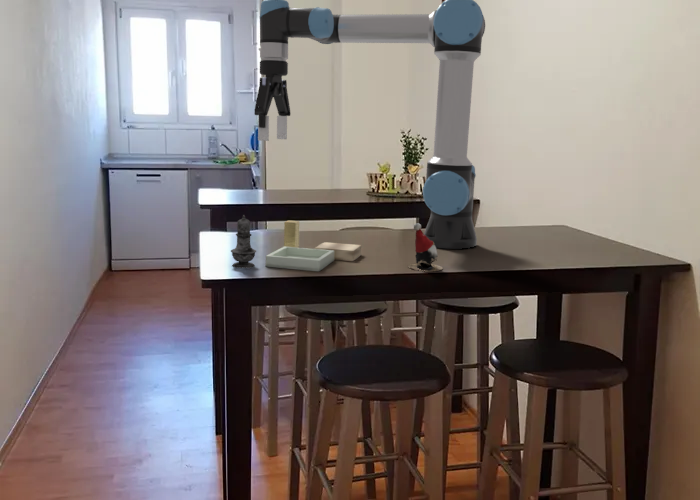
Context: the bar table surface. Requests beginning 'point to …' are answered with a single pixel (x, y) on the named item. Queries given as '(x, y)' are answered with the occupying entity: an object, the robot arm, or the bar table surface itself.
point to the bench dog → (291, 233)
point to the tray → (300, 258)
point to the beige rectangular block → (342, 250)
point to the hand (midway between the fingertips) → (272, 140)
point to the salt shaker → (243, 245)
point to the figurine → (424, 252)
